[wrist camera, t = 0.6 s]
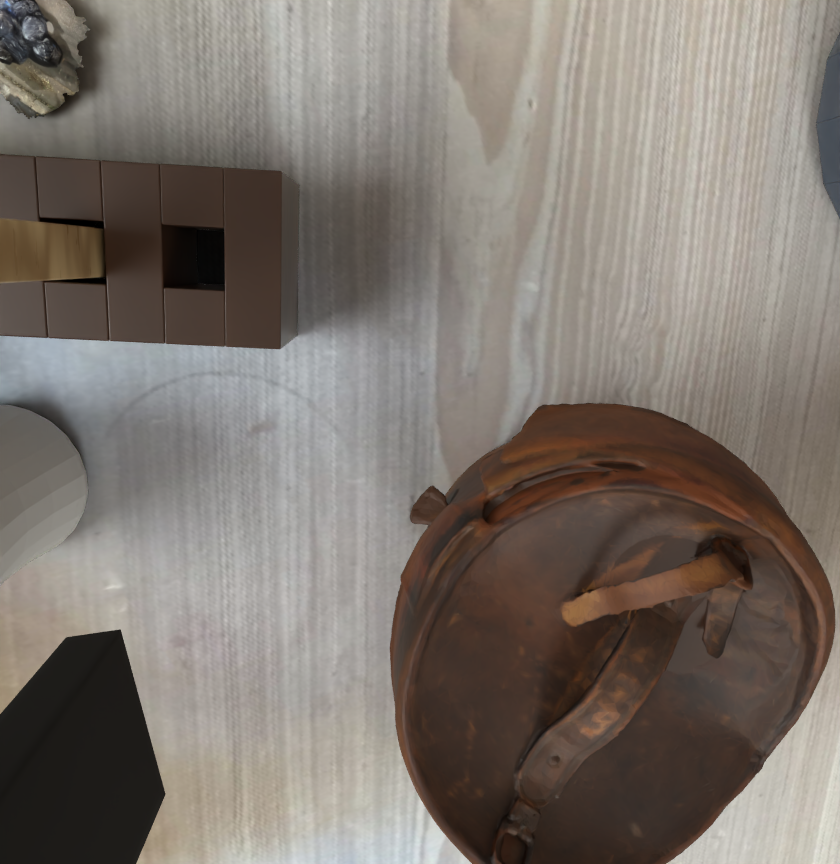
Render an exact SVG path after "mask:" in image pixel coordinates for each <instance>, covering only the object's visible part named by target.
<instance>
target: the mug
mask: <svg viewBox="0 0 840 864" xmlns="http://www.w3.org/2000/svg"><path fill="white" fill-rule="evenodd" d="M87 496H88V484H87V474H86V470H85V467H84V465H83V462H82V460H81V457H80V454H79V452H78V451H77V449H76V448H75V447H74V445H73V444H72V442H71V441H70V439H69V438H68V437H67V435H66V434H65V433H63V432H62V431H61V430H60V429H59V428H58V427H57V426H55V425H54V424H53V423H52V422H51V421H49V420H47V419H46V418H44V417H42V416H40V415H38V414H36V413H34V412H32V411H31V410H27V409H23V408H19V407H15V406H12V405H0V586H1V585H2V584H3V582H4V581H5V580H7V579H8V578H9V577H10V576H12V575H13V574H14V573H16V572H17V571H18V570H20V569H21V568H22V567H23V566H25V565H26V564H27V563H29V562H30V561H32V560H34V559H36V558H38V557H39V556H41V555H43V554H45V553H47V552H49V551H50V550H52V549H54V548H55V547H57V546H58V545H60V544H61V543H62V542H63V541H64V540H65V539H66V538H67V537H68V536H69V535H70V534H71V533H72V532H73V531H74V529H75V528H76V526H77V524H78V522H79V520H80V518H81V516H82V515H83V513H84V511H85V506H86V501H87Z"/></svg>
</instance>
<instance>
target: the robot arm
mask: <svg viewBox="0 0 840 864" xmlns="http://www.w3.org/2000/svg"><path fill="white" fill-rule="evenodd" d="M164 797H165V791H164V787H163V784H162V780H161V776H160V773H159V769H158V765H157V762H156V758H155V754H154V751H153V747H152V743H151V739H150V736H149V732H148V728H147V725H146V721H145V717H144V714H143V710H142V706H141V703H140V699H139V695H138V692H137V688H136V684H135V681H134V677H133V673H132V670H131V666H130V662H129V659H128V655H127V651H126V648H125V644H124V640H123V637H122V633H121V630H114V631H107V632H100V633H93V634H86V635H79V636H72V637H66V638H65V639H64V641H63V642H62V643H61V644H60V645H59V646H58V648H57V649H56V650H55V651H54V652H53V653H52V655H51V656H50V657H49V658H48V659H47V660H46V662H45V663H44V664H43V665H42V666H41V667H40V669H39V670H38V671H37V672H36V673H35V675H34V676H33V677H32V678H31V679H30V680H29V682H28V683H27V684H26V685H25V686H24V687H23V689H22V690H21V691H20V692H19V693H18V694H17V696H16V697H15V698H14V699H13V700H12V701H11V703H10V704H9V705H8V706H7V707H6V708H5V710H4V711H3V712H2V713H1V714H0V864H136V863H137V860H138V858H139V855H140V853H141V851H142V848H143V846H144V844H145V841H146V839H147V837H148V834H149V832H150V830H151V827H152V825H153V822H154V820H155V818H156V815H157V813H158V811H159V808H160V806H161V804H162V801H163V799H164Z"/></svg>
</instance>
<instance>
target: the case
mask: <svg viewBox="0 0 840 864" xmlns="http://www.w3.org/2000/svg"><path fill="white" fill-rule="evenodd" d="M410 519H411V522H412V523H414V524H425V525H429V526H428V528H427V530H426V531H425V532H424V533H423V535H422V536H421V537H420V539H419V541H418V543H417V544H416V546H415V548H414V550H413V552H412V554H411V556H410V558H409V560H408V562H407V564H406V566H405V569H404V571H403V573H402V574H401V585H400V589H399V592H398V597H397V600H396V608H395V613H394V618H393V625H392V635H391V642H390V661H391V678H392V686H393V693H394V701H395V721H396V729H397V736H398V741H399V745H400V750H401V753H402V756H403V759H404V762H405V765H406V767H407V770H408V773H409V775H410V778H411V780H412V782H413V785H414V787H415V789H416V791H417V793H418V795H419V797H420V798H421V800H422V802H423V804H424V805H425V807H426V809H427V810H428V812H429V813H430V815H431V816H432V818H433V819H434V821H435V822H436V824H437V825H438V826H439V828H440V829H441V830H442V831H443V833H444V834H445V835H446V836H447V837H448V839H449V840H450V841H451V842H452V843H453V844H454V845H455V846H456V847H457V848H458V850H459V851H460V852H461V853H462V854H463V855H464V856H465V857H466V858H467V859H468V860H469V861H470V862H471V863H472V864H666V863H668V862H669V861H671V860H673V859H674V858H675V857H676V856H678V855H679V854H681V853H682V852H683V851H684V850H685V849H686V848H688V847H689V846H690V845H691V844H692V843H693V842H694V841H696V840H697V839H698V838H699V837H700V836H701V835H702V834H703V833H704V832H705V831H706V830H707V829H708V828H709V827H710V826H711V825H712V824H713V823H714V821H715V820H716V819H717V818H718V816H719V815H720V814H721V813H722V811H723V810H724V809H725V807H726V806H727V805H728V804H729V803H730V802H731V801H732V800H733V799H734V798H735V797H736V796H737V795H738V794H740V793H741V792H742V791H743V790H744V788H745V787H746V786H747V785H748V783H749V782H750V781H751V780H752V779H753V778H754V777H755V775H756V774H757V773H759V771H760V770H761V769H762V767H763V764H764V762H765V761H766V759H767V758H768V757H769V756H770V754H771V753H772V752H773V750H774V749H775V748H776V746H777V745H778V744H779V743H780V742H781V740H782V739H783V738H784V736H785V735H786V734H787V733H788V731H789V730H790V729H791V728H792V727H793V726H794V724H795V723H796V722H797V720H798V719H799V717H800V715H801V714H802V712H803V711H804V709H805V708H806V706H807V704H808V702H809V701H810V699H811V697H812V695H813V693H814V690H815V688H816V686H817V684H818V682H819V680H820V677H821V675H822V673H823V671H824V669H825V667H826V664H827V662H828V659H829V655H830V652H831V648H832V645H833V639H834V633H835V608H834V602H833V594H832V590H831V587H830V584H829V581H828V579H827V577H826V574H825V572H824V570H823V568H822V566H821V564H820V563H819V561H818V559H817V557H816V555H815V554H814V552H813V550H812V548H811V547H810V545H809V544H808V542H807V541H806V539H805V538H804V536H803V535H802V533H801V532H800V530H799V529H798V528H797V527H796V525H795V524H794V523H793V522H792V521H791V520H790V518H789V517H788V515H787V513H786V512H785V510H784V509H783V507H782V506H781V504H780V503H779V501H778V499H777V498H776V497H775V495H774V494H773V493H772V491H771V490H770V489H769V487H768V486H767V485H766V484H765V483H764V481H763V480H762V479H761V478H760V477H759V476H757V474H755V473H754V472H753V471H752V470H751V469H750V468H749V467H748V466H747V465H746V464H745V463H744V462H743V461H741V460H740V459H739V458H738V457H737V456H735V455H734V454H733V453H731V452H730V451H729V450H727V449H726V448H725V447H723V446H722V445H721V444H719V443H718V442H716V441H715V440H713V439H712V438H710V437H708V436H706V435H704V434H702V433H700V432H699V431H697V430H695V429H694V428H692V427H690V426H689V425H688V424H686V423H684V422H681V421H678V420H676V419H674V418H671V417H668V416H666V415H664V414H662V413H659V412H656V411H653V410H649V409H644V408H639V407H633V406H627V405H618V404H602V403H599V404H593V403H586V404H574V405H570V404H559V405H542V406H540V407H538V408H537V410H536V411H535V412H534V413H533V414H532V415H531V416H530V417H529V418H528V420H527V422H526V423H525V424H524V426H523V428H522V430H521V432H520V433H518V434H517V435H516V436H515V437H514V438H513V439H512V440H511V442H510V443H507V444H505V445H502V446H500V447H498V448H496V449H494V450H492V451H491V452H489V453H487V454H486V455H484V456H483V457H482V458H480V459H479V460H478V461H476V462H475V463H474V464H473V465H472V466H470V467H469V468H468V469H467V470H466V471H465V472H464V473H463V474H462V475H461V476H460V477H459V478H458V479H457V480H456V482H455V483H454V484H453V485H452V487H451V488H450V489H449V491H448V492H447V494H446V495H445V496H444V495H443V494H442V493H441V492H440V491H439V490H438V489H436V488H435V487H434V486H430V487H429V488H428V489H427V490H426V491H425V492H424V493H423V494H422V495H421V496H420V498H419V499H418V500H417V502H416V503H415V504H414V505H413V507H412V510H411V514H410Z"/></svg>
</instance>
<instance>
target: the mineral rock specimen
mask: <svg viewBox="0 0 840 864" xmlns="http://www.w3.org/2000/svg"><path fill="white" fill-rule="evenodd" d="M84 21H86V19H85V18H84V17H76V15H74V9H73V7H71V5H69V3H67V1H65V0H0V94H1V93H3V95H4V97H6V100H7V101H10V104H11V105H14V107H15V110H16V111H17V113H24V115H26V117H28V119H30V117H32V116H35V118H36V117H37V116H44V115H46V113H49V111H50V112H52V111H53V110H54V109H55V110H56V109H58V107H60V105H61V104H63V102H65V100H64V96H62V94H63V93H67V95H74V93H75V92H79V87H78V85H79V84H80V83H79V79H77V76H78V75H77V74H76V68H79V67H81V68H83V67H84V66H83V65H81V64H80V63H81V62H82V56H81V57H80V56H79V55H78V51H79V50H77V44H78V43H79V42H80V41H83V40H84V39H85V38H87V36H85V32H86V33H87V31H90V28H89V29H88V27H86V25H83V22H84ZM86 30H87V31H86Z"/></svg>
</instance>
